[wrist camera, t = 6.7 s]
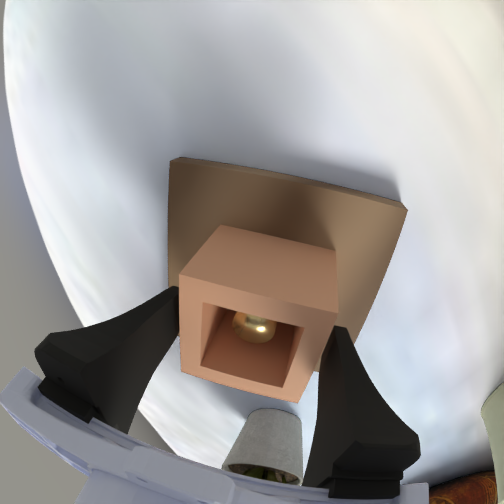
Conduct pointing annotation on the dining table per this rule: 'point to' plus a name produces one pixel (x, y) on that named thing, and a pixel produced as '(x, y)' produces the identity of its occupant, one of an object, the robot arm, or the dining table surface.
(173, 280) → the keeper
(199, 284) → the open box
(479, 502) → the jug
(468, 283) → the dining table surface
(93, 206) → the dining table surface
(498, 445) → the can
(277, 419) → the house plant
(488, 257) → the dining table surface
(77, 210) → the dining table surface
